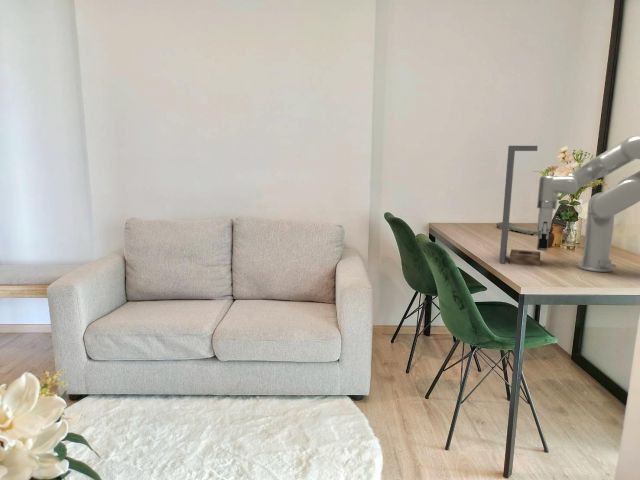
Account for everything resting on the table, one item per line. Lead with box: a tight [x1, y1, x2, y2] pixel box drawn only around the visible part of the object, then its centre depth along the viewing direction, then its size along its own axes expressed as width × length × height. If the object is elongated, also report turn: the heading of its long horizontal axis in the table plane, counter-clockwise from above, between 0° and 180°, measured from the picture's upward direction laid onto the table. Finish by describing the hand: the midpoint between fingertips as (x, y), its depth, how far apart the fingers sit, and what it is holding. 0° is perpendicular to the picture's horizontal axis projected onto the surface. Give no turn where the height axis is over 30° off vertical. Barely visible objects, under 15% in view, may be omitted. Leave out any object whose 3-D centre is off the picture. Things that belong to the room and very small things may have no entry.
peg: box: [536, 231, 549, 252], centre depth 207 cm, size 4×4×8 cm
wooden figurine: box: [547, 225, 555, 248], centre depth 245 cm, size 7×6×15 cm
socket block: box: [508, 248, 541, 267], centre depth 211 cm, size 12×12×4 cm
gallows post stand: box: [499, 145, 538, 264], centre depth 208 cm, size 11×16×50 cm
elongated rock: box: [496, 221, 539, 236], centre depth 296 cm, size 35×5×10 cm
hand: (542, 246), depth 207 cm, fingers closed on peg, 4 cm apart
